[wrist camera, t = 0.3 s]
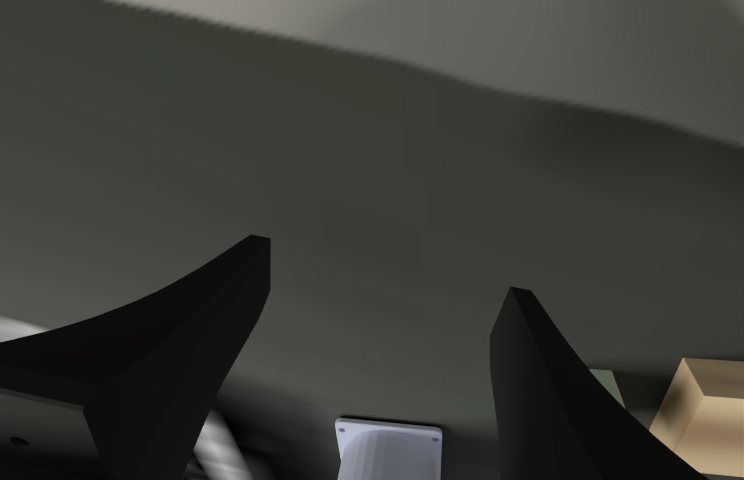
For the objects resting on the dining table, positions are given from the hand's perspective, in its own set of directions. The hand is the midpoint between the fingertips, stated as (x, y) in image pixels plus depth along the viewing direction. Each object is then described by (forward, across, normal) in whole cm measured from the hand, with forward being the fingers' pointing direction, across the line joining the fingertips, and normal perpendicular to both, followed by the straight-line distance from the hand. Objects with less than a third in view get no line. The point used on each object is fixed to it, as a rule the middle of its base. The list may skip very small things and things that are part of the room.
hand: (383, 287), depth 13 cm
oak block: (+10, -22, +12) cm, 27 cm away
